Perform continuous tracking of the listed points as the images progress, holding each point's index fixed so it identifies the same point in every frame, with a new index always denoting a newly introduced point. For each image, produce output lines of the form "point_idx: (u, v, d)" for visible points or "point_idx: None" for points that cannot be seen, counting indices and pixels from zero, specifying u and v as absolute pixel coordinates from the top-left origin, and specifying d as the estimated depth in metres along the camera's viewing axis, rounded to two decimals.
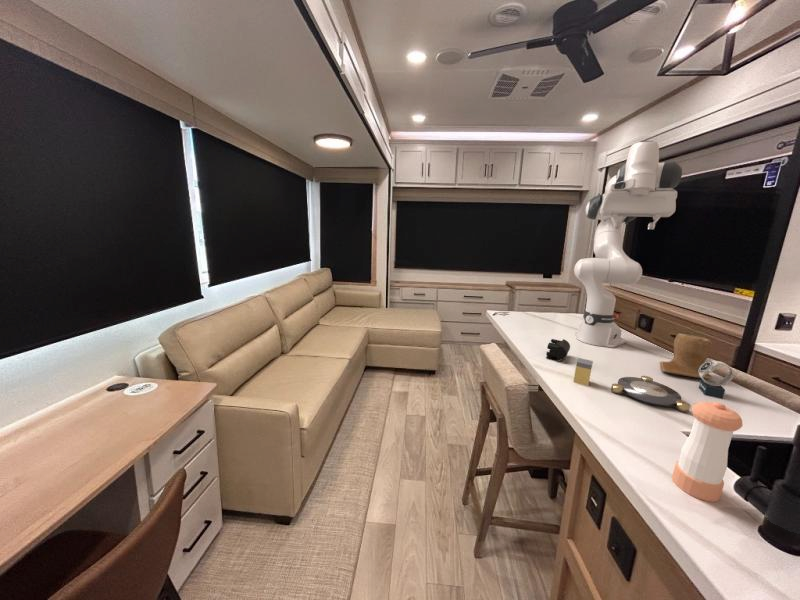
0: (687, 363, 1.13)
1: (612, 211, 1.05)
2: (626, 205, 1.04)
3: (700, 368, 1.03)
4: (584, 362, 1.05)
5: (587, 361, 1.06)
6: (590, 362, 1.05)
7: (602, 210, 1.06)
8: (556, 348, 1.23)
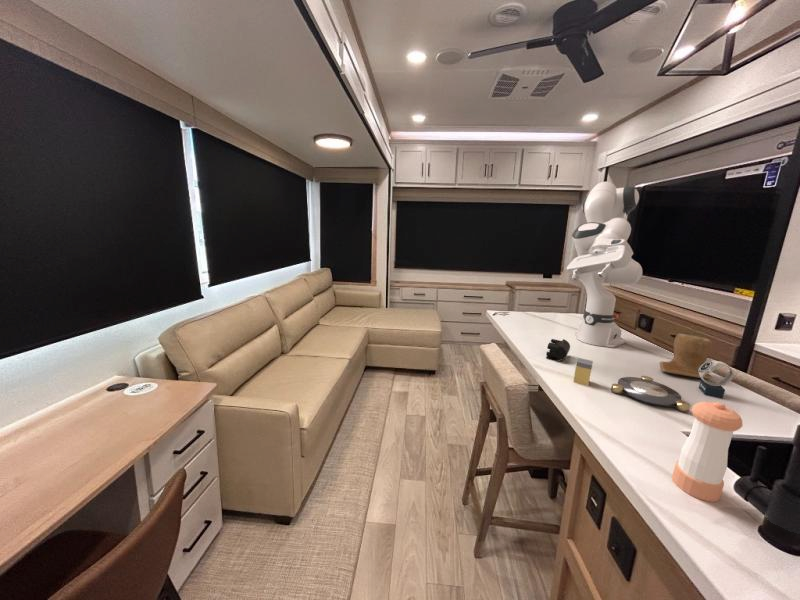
0: (687, 364, 1.13)
1: (616, 268, 1.03)
2: None
3: (700, 368, 1.03)
4: (584, 362, 1.05)
5: (587, 361, 1.06)
6: (590, 362, 1.05)
7: (625, 265, 1.00)
8: (556, 348, 1.23)
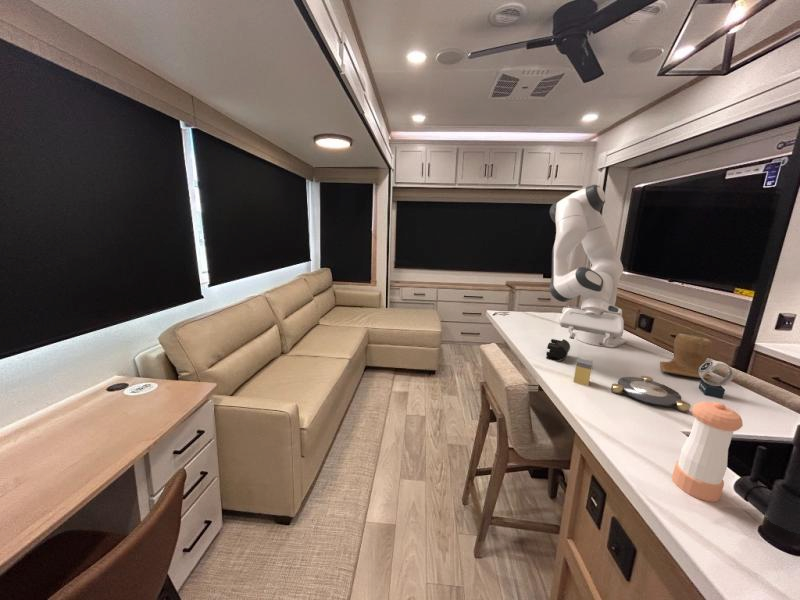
0: (687, 364, 1.13)
1: None
2: None
3: (700, 368, 1.03)
4: (584, 362, 1.05)
5: (587, 361, 1.06)
6: (590, 362, 1.05)
7: None
8: (556, 348, 1.23)
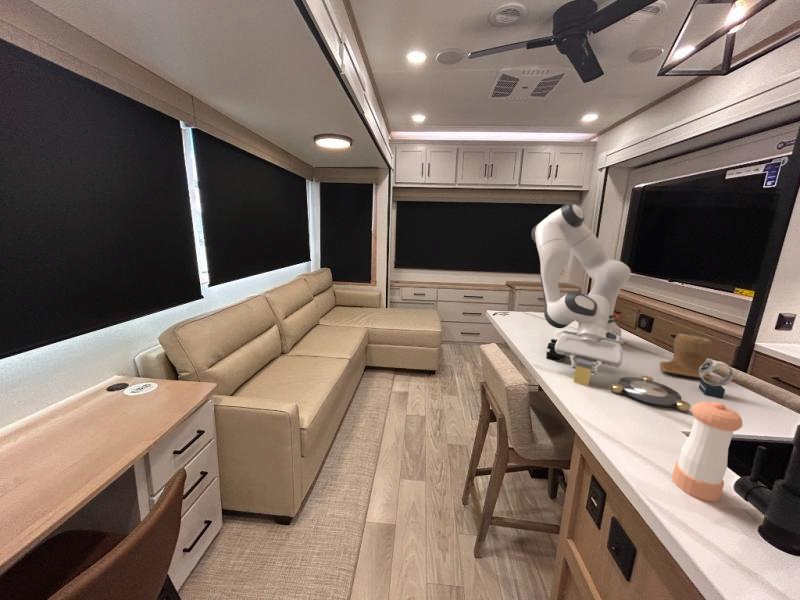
0: (687, 364, 1.13)
1: None
2: None
3: (700, 368, 1.03)
4: (584, 362, 1.05)
5: (587, 361, 1.06)
6: (590, 362, 1.05)
7: None
8: None
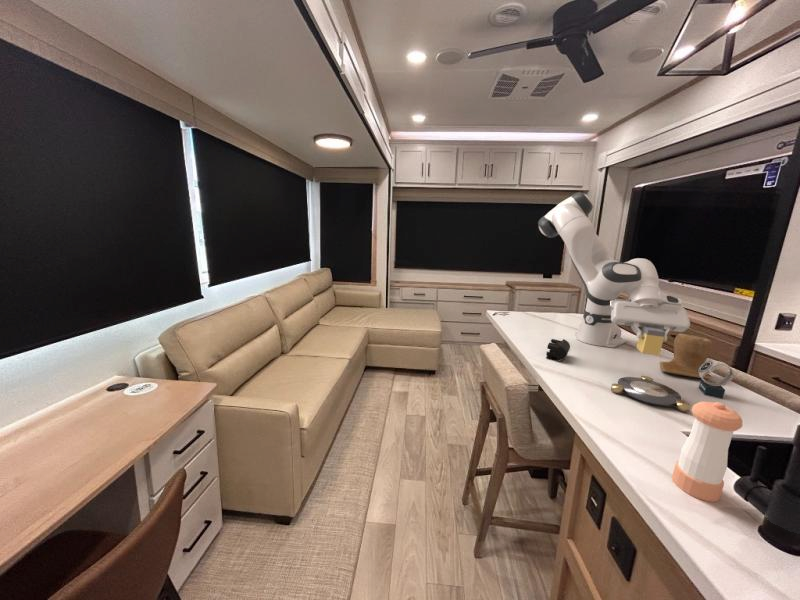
0: (687, 364, 1.13)
1: None
2: None
3: (700, 368, 1.03)
4: (654, 329, 0.94)
5: (655, 328, 0.96)
6: (659, 329, 0.95)
7: None
8: (556, 348, 1.23)
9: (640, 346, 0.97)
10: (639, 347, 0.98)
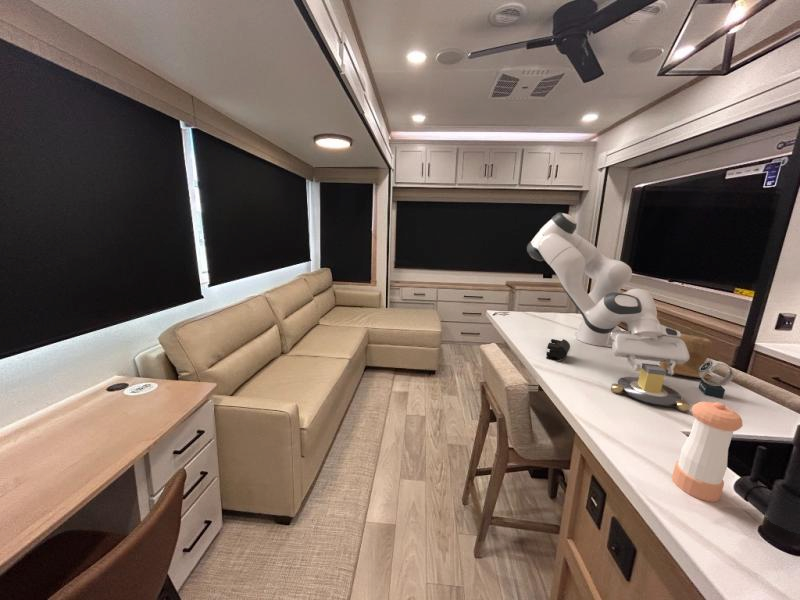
0: (687, 364, 1.13)
1: None
2: None
3: (700, 368, 1.03)
4: (655, 368, 0.97)
5: (655, 366, 0.98)
6: (659, 367, 0.97)
7: None
8: (556, 348, 1.23)
9: (641, 383, 0.99)
10: (640, 384, 1.00)
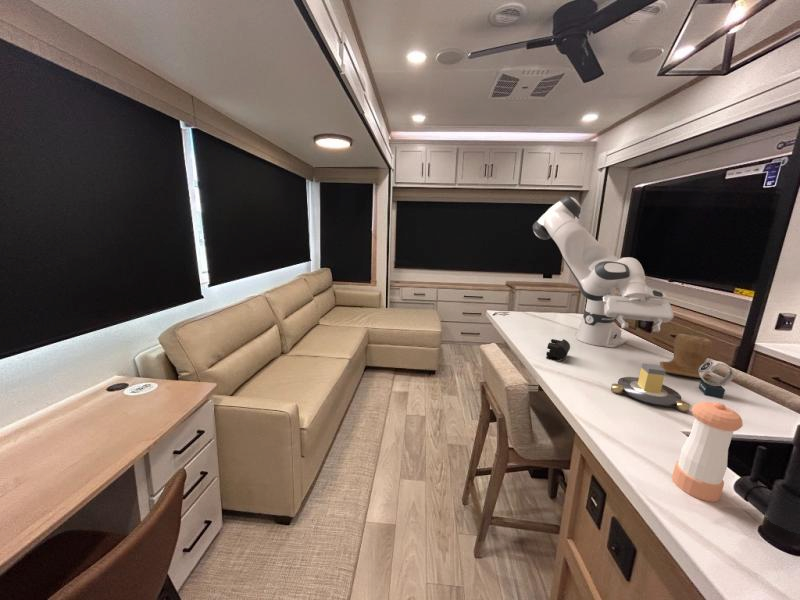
0: (687, 364, 1.13)
1: None
2: None
3: (700, 368, 1.03)
4: (655, 368, 0.97)
5: (655, 366, 0.98)
6: (659, 367, 0.97)
7: None
8: (556, 348, 1.23)
9: (641, 383, 0.99)
10: (640, 384, 1.00)
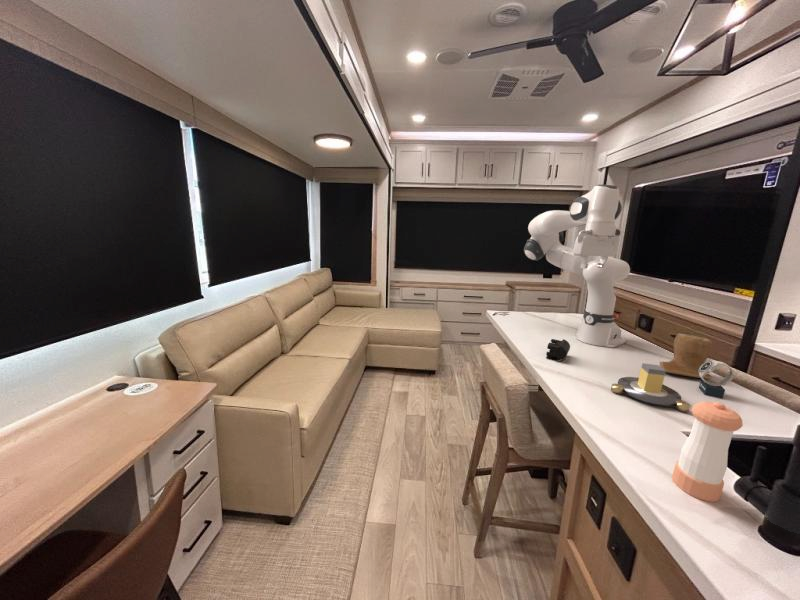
0: (687, 364, 1.13)
1: None
2: None
3: (700, 368, 1.03)
4: (655, 368, 0.97)
5: (655, 366, 0.98)
6: (659, 367, 0.97)
7: None
8: (556, 348, 1.23)
9: (641, 383, 0.99)
10: (640, 384, 1.00)
